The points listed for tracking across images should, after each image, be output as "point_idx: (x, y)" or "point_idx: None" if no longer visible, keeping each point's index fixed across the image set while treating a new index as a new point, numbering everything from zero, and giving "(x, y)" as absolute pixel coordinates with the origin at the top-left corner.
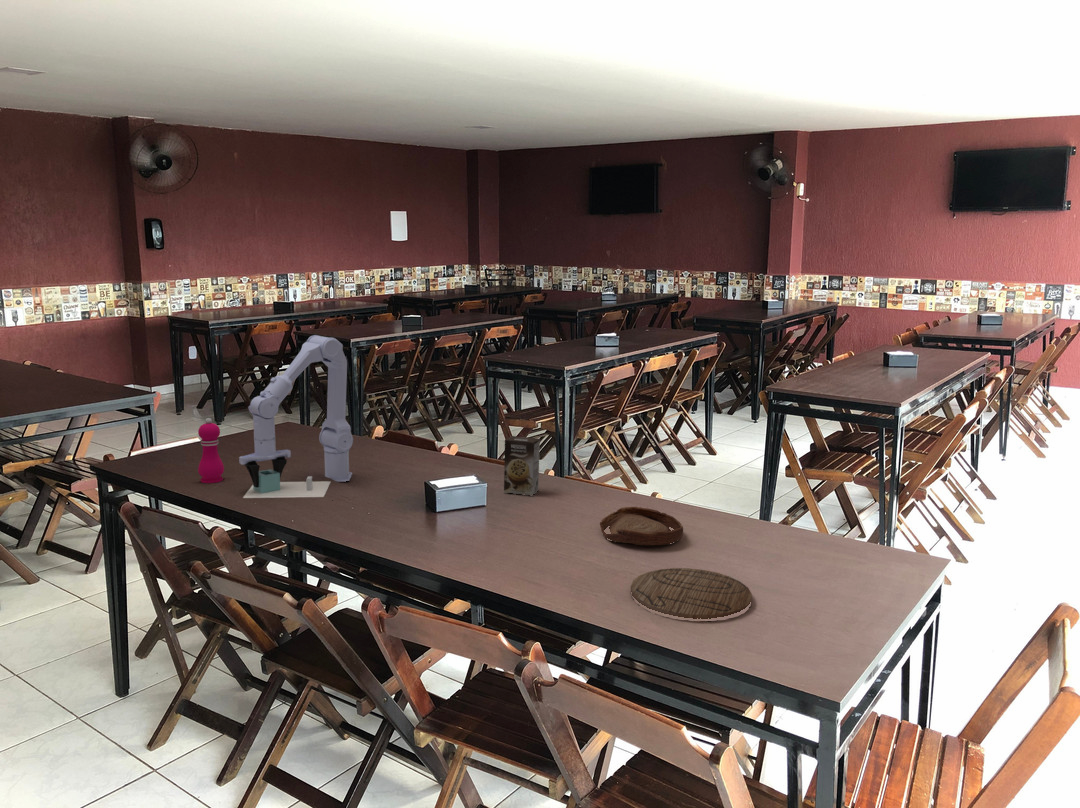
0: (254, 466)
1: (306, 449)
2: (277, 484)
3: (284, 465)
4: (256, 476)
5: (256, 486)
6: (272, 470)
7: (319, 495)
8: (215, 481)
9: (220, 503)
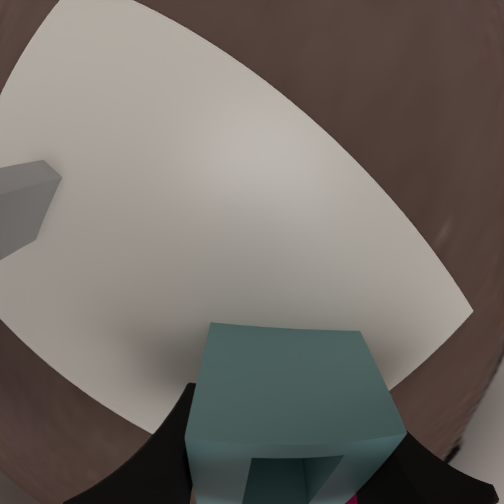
0: (490, 501)
1: (47, 490)
2: (229, 355)
3: (97, 490)
4: (410, 446)
5: None
6: (204, 495)
7: (72, 11)
8: (347, 501)
9: (497, 336)
